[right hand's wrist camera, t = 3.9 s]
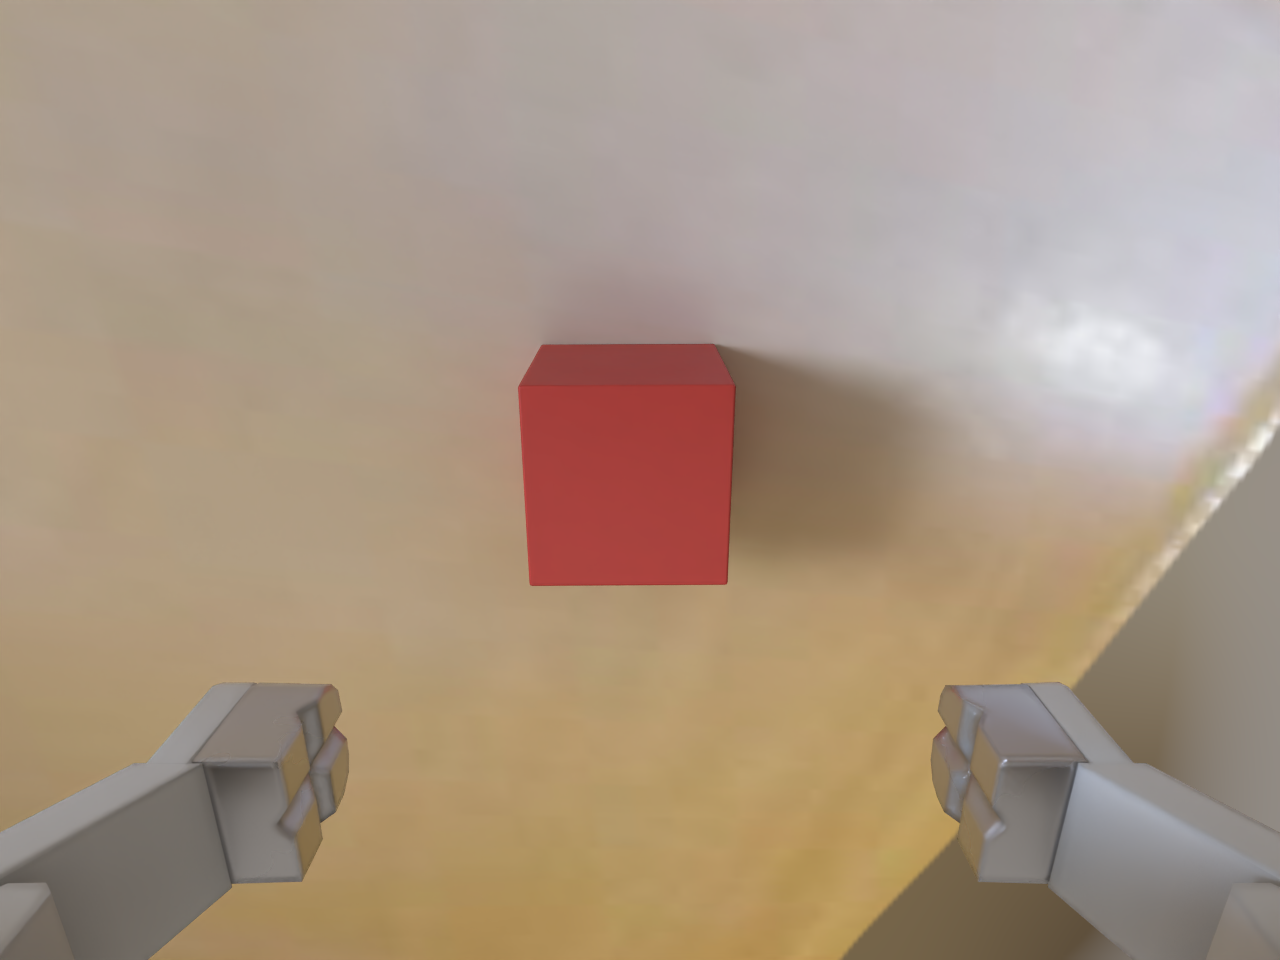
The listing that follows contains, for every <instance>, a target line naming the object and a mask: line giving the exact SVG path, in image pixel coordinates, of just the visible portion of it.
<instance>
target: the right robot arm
mask: <svg viewBox="0 0 1280 960" xmlns="http://www.w3.org/2000/svg"><path fill="white" fill-rule="evenodd" d="M341 712H342V708H341V703H340V698H339V693H338V690H337V689H336V688H335V687H334V686H333V685H332V684H292V683H258V684H257V683H220V684H217V685H215V686H212V687H211V688H210V690H209V691H208V692H207V693H206V694H205V695H204V697H203V698H202V699H201V700H200V701H199V702H198V704H197V705H196V706H195V707H194V708H193V709H192V711H191V712H190V713H189V714H188V715H187V716H186V717H185V719H184V720H183V721H182V722H181V723H180V724H179V726H178V727H177V728H176V729H175V730H174V731H173V733H172V734H171V735H170V736H169V737H168V738H167V740H166V741H165V742H164V743H163V744H162V745H161V747H160V748H159V749H158V750H157V751H156V752H155V754H154V755H153V756H152V757H151V758H150V759H149V761H148V762H147V763H134V764H132V765H130V766H128V767H126V768H124V769H122V770H120V771H118V772H116V773H114V774H112V775H110V776H108V777H106V778H105V779H103V780H101V781H99V782H97V783H95V784H93V785H91V786H89V787H87V788H85V789H83V790H81V791H79V792H77V793H75V794H74V795H72V796H70V797H68V798H66V799H64V800H62V801H60V802H58V803H56V804H54V805H52V806H50V807H48V808H46V809H45V810H43V811H41V812H39V813H37V814H35V815H33V816H31V817H29V818H27V819H25V820H23V821H21V822H19V823H17V824H16V825H14V826H12V827H10V828H8V829H6V830H4V831H2V832H0V960H148V959H149V958H150V957H151V956H152V955H154V954H155V953H156V952H157V951H158V950H160V949H161V948H162V947H163V946H164V945H165V944H167V943H168V942H169V941H170V940H171V939H172V938H174V937H175V936H176V935H177V934H178V933H179V932H181V931H182V930H183V929H184V928H185V927H186V926H188V925H189V924H190V923H191V922H192V921H193V920H195V919H196V918H197V917H198V916H199V915H200V914H202V913H203V912H204V911H205V910H206V909H207V908H209V907H210V906H211V905H212V904H213V903H214V902H216V901H217V900H218V899H219V898H220V897H221V896H223V895H224V894H225V893H226V892H227V891H228V890H230V889H231V888H232V884H236V883H270V882H302V880H303V878H304V876H305V874H306V872H307V870H308V868H309V866H310V864H311V862H312V860H313V858H314V856H315V854H316V852H317V850H318V848H319V846H320V844H321V842H322V840H323V837H322V831H321V825H320V823H321V822H322V821H324V820H325V819H327V818H328V817H329V816H331V815H332V814H334V813H335V812H336V811H337V808H338V806H339V804H340V802H341V800H342V797H343V795H344V792H345V787H346V782H347V778H348V773H349V751H348V744H347V739H346V738H345V737H344V735H343V734H342V733H341V732H340V731H339V730H338V729H337V728H336V727H335V726H334V725H335V723H336V721H337V720H338V718H339V716H340V714H341ZM938 712H939V714H940V716H941V718H942V720H943V721H944V723H945V725H946V726H945V727H944V728H943V729H942V730H941V731H940V732H939V733H938V734H937V736H936V737H935V738H934V739H933V745H932V753H931V769H932V780H933V784H934V788H935V791H936V795H937V798H938V800H939V802H940V804H941V806H942V808H943V811H944V812H945V813H946V814H948V815H949V816H951V817H952V818H953V819H955V820H956V821H958V822H959V823H960V825H959V831H958V837H957V839H958V842H959V844H960V846H961V848H962V850H963V852H964V854H965V856H966V858H967V860H968V862H969V864H970V866H971V868H972V870H973V872H974V874H975V876H976V878H977V880H978V882H1009V883H1044V884H1048V887H1049V888H1050V889H1051V890H1052V891H1053V892H1054V893H1056V894H1057V895H1058V896H1059V897H1060V898H1061V899H1062V900H1064V901H1065V902H1066V903H1067V904H1068V905H1069V906H1071V907H1072V908H1073V909H1074V910H1075V911H1077V912H1078V913H1079V914H1080V915H1081V916H1082V917H1083V918H1085V919H1086V920H1087V921H1088V922H1089V923H1090V924H1092V925H1093V926H1094V927H1095V928H1096V929H1097V930H1099V931H1100V932H1101V933H1102V934H1103V935H1104V936H1106V937H1107V938H1108V939H1109V940H1110V941H1111V942H1113V943H1114V944H1115V945H1116V946H1117V947H1118V948H1120V949H1121V950H1122V951H1123V952H1124V953H1125V954H1127V955H1128V956H1129V957H1130V958H1131V959H1132V960H1280V832H1278V831H1276V830H1274V829H1272V828H1270V827H1268V826H1266V825H1264V824H1262V823H1260V822H1258V821H1256V820H1255V819H1253V818H1251V817H1249V816H1247V815H1245V814H1243V813H1241V812H1239V811H1237V810H1235V809H1233V808H1231V807H1229V806H1227V805H1226V804H1224V803H1222V802H1220V801H1218V800H1216V799H1214V798H1212V797H1210V796H1208V795H1206V794H1204V793H1202V792H1200V791H1199V790H1197V789H1195V788H1193V787H1191V786H1189V785H1187V784H1185V783H1183V782H1181V781H1179V780H1177V779H1175V778H1174V777H1172V776H1170V775H1168V774H1166V773H1164V772H1162V771H1160V770H1158V769H1156V768H1154V767H1152V766H1150V765H1148V764H1146V763H1133V762H1132V761H1131V759H1130V758H1129V757H1128V756H1127V755H1126V754H1125V752H1124V751H1123V750H1122V749H1121V748H1120V747H1119V745H1118V744H1117V743H1116V742H1115V741H1114V740H1113V738H1112V737H1111V736H1110V735H1109V734H1108V733H1107V731H1106V730H1105V729H1104V728H1103V727H1102V726H1101V725H1100V723H1099V722H1098V721H1097V720H1096V719H1095V718H1094V716H1093V715H1092V714H1091V713H1090V712H1089V711H1088V710H1087V708H1086V707H1085V706H1084V705H1083V704H1082V702H1081V701H1080V700H1079V699H1078V698H1077V697H1076V695H1075V694H1074V693H1073V692H1072V691H1071V690H1070V689H1069V687H1067V686H1065V685H1063V684H1061V683H1059V682H1049V683H1021V684H1008V685H945V687H944V689H943V691H942V693H941V696H940V701H939V707H938Z"/></svg>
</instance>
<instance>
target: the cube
mask: <svg viewBox="0 0 1280 960" xmlns="http://www.w3.org/2000/svg"><path fill="white" fill-rule="evenodd" d="M518 393H519V410H520V427H521V444H522V461H523V478H524V495H525V513H526V530H527V547H528V564H529V581H530V585H531V586H574V585H725V584H727V582H728V558H729V535H730V511H731V487H732V464H733V440H734V417H735V393H736V386H735V384H734V382H733V380H732V378H731V376H730V374H729V372H728V370H727V368H726V366H725V364H724V362H723V360H722V358H721V356H720V354H719V352H718V350H717V348H716V346H715V345H714V344H607V345H541V347H540V349H539V351H538V352H537V354H536V356H535V358H534V360H533V361H532V363H531V365H530V367H529V369H528V370H527V372H526V374H525V376H524V378H523V379H522V381H521V383H520V385H519V387H518Z"/></svg>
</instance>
